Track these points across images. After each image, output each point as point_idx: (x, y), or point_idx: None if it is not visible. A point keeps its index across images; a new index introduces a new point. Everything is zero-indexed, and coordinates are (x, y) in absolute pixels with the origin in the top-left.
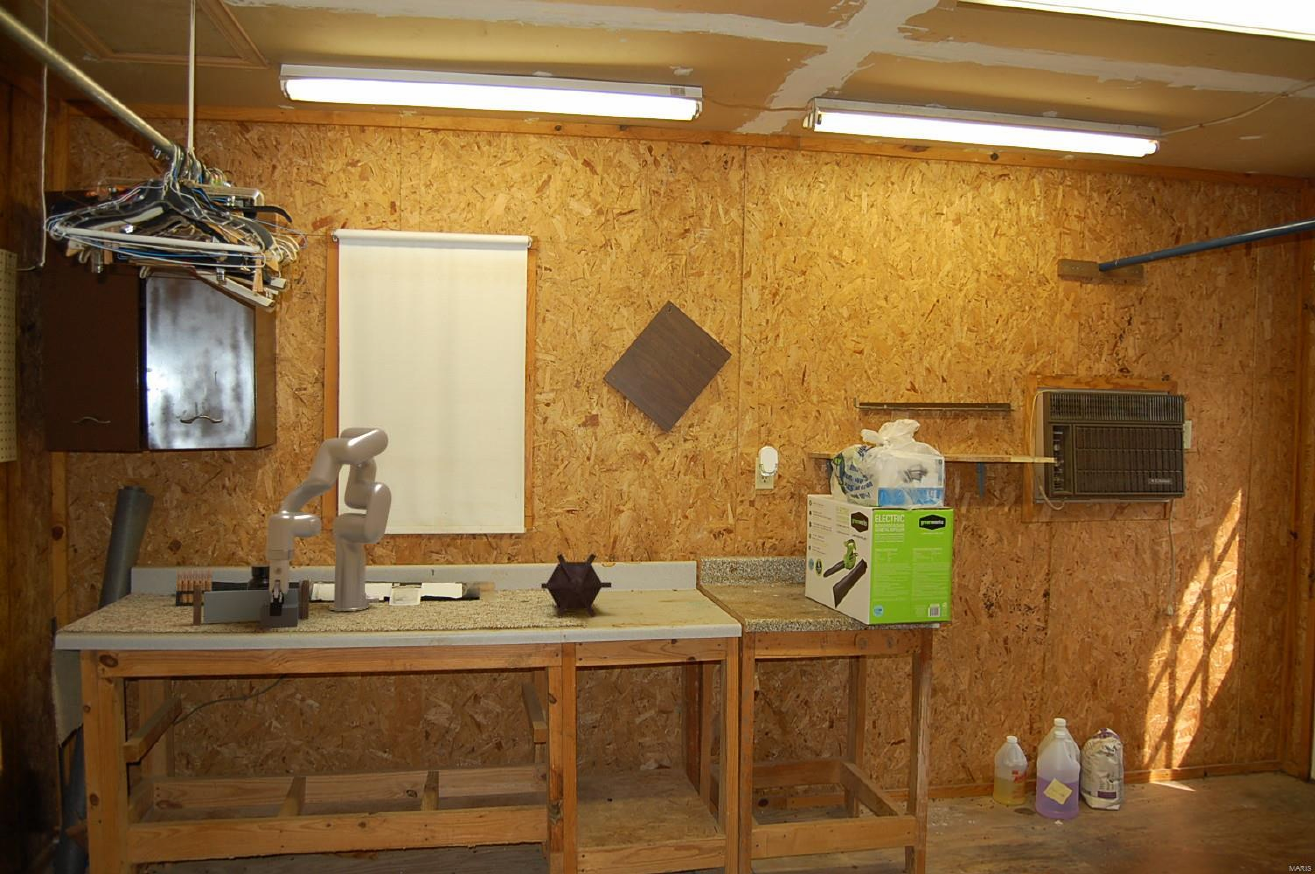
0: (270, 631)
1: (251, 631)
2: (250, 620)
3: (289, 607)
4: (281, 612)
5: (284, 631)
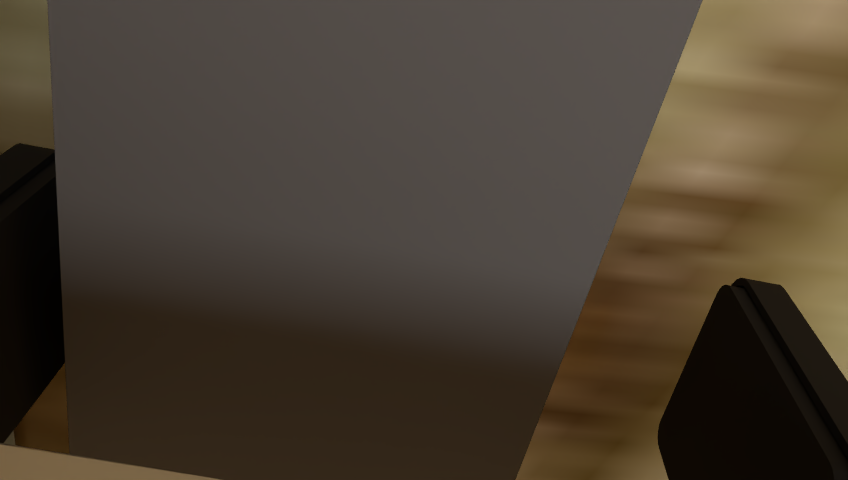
0: (702, 284)
1: (567, 448)
2: None
3: (606, 154)
4: (800, 317)
5: (833, 123)
